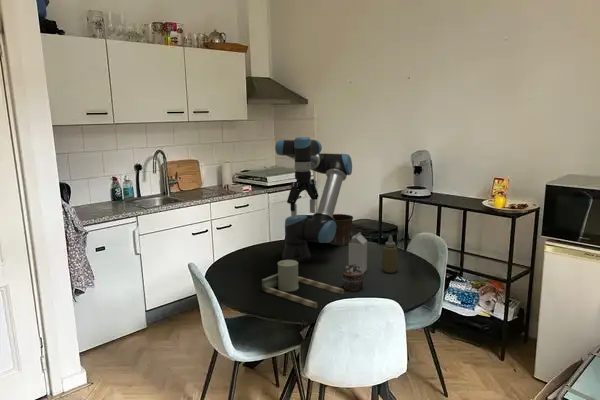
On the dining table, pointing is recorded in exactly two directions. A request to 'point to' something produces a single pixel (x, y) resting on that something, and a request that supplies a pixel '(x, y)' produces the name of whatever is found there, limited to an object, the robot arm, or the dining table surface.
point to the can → (288, 275)
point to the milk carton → (358, 252)
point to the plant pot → (342, 229)
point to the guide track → (273, 282)
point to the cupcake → (352, 278)
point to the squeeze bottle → (390, 256)
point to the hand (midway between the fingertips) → (303, 215)
